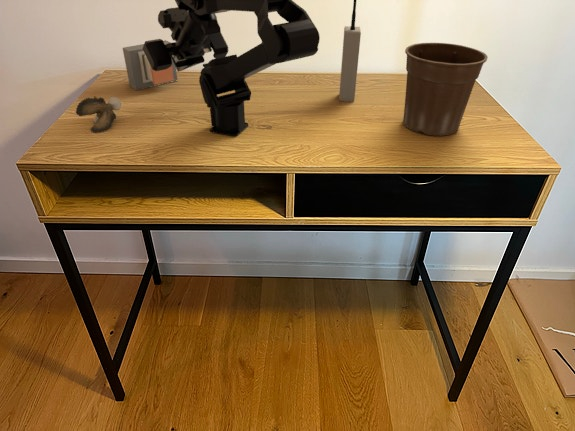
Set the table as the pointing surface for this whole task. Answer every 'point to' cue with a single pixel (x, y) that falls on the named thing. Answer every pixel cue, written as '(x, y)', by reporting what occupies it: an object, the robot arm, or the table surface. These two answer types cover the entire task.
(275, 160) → the table surface
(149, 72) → the plunger
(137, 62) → the box
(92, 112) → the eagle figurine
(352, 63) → the vintage mobile phone
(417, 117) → the plant pot
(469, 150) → the table surface
